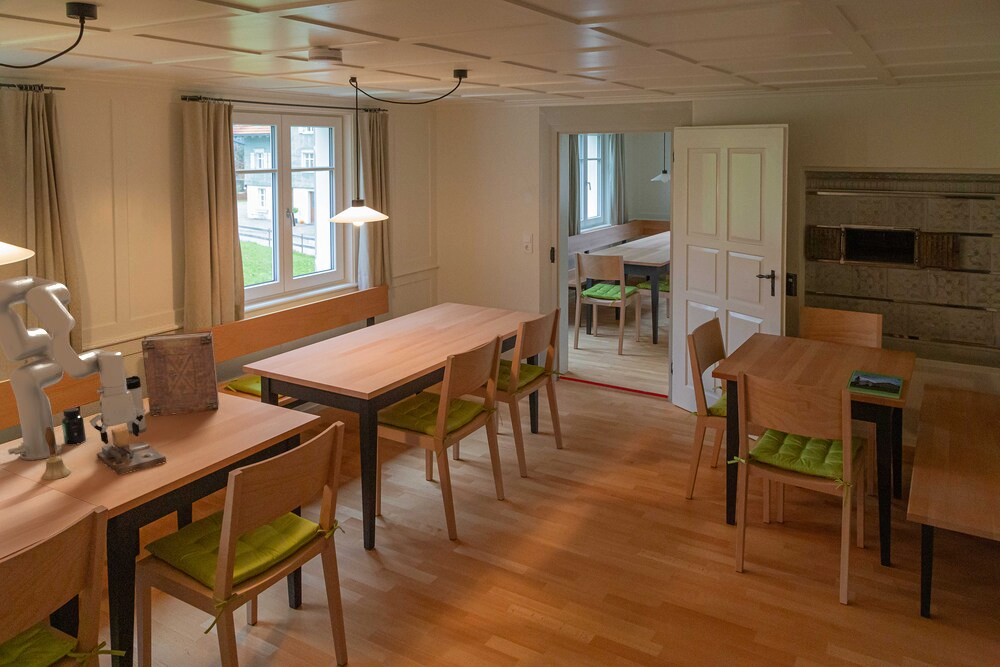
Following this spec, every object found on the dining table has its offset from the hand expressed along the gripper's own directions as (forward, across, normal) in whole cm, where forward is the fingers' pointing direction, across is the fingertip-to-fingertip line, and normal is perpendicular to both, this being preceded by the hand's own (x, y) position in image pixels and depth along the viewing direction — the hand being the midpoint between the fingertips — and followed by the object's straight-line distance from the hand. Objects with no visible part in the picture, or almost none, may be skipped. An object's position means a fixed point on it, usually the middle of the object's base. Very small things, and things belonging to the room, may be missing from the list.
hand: (121, 439), depth 271 cm
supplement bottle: (+7, -6, +30) cm, 31 cm away
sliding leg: (+5, 0, -3) cm, 6 cm away
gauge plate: (+7, +2, -3) cm, 8 cm away
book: (+7, +37, +38) cm, 54 cm away
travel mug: (+7, +14, +26) cm, 30 cm away
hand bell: (+7, -20, +2) cm, 21 cm away
